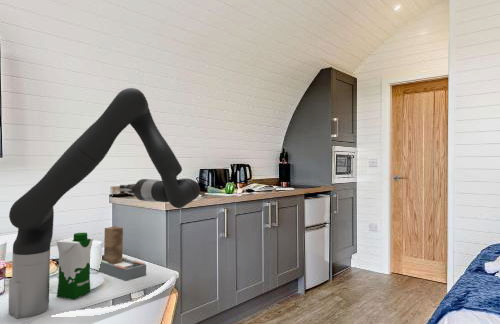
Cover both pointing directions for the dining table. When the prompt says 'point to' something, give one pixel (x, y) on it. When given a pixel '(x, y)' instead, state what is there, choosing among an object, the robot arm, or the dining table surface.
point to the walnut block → (113, 245)
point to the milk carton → (74, 266)
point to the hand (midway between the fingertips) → (121, 187)
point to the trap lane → (123, 269)
